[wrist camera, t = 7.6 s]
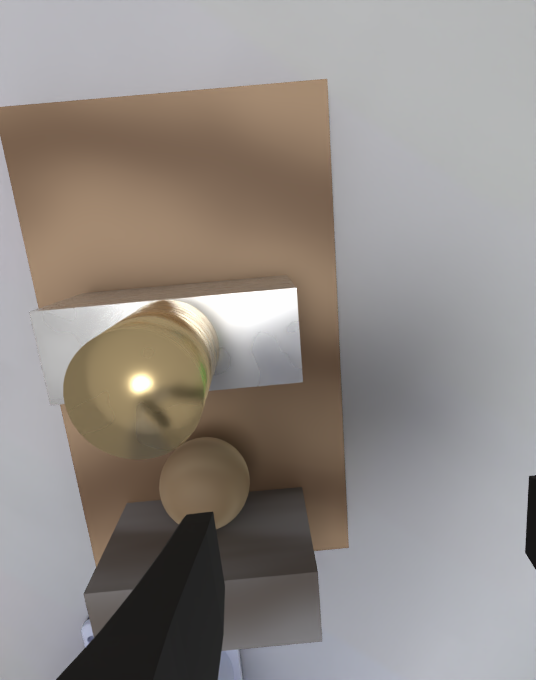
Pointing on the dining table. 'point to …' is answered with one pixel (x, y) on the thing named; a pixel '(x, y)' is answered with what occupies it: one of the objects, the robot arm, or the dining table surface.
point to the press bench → (187, 268)
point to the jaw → (163, 356)
